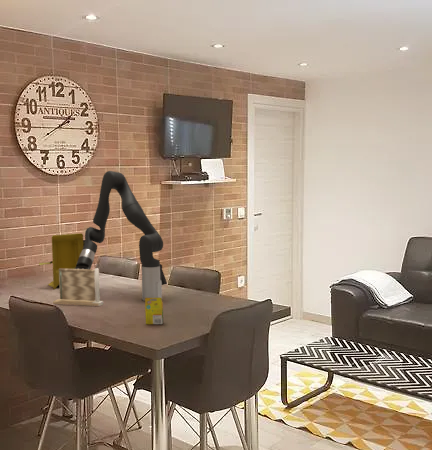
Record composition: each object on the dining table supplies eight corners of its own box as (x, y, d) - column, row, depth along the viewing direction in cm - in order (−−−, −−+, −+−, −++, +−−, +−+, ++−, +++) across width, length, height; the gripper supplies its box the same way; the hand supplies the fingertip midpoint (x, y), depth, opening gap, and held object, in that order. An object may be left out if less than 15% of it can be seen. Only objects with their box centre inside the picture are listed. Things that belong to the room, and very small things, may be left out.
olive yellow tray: (88, 280, 354) (86, 230, 351) (97, 283, 343) (96, 232, 340) (36, 286, 336) (34, 234, 333) (44, 290, 325) (42, 236, 322)
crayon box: (163, 322, 257) (162, 296, 256) (162, 324, 254) (162, 297, 253) (146, 322, 257) (145, 296, 256) (145, 324, 254) (144, 297, 253)
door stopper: (153, 286, 335) (152, 265, 334) (148, 284, 340) (147, 263, 339) (167, 284, 340) (166, 263, 339) (162, 282, 345) (161, 262, 344)
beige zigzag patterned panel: (95, 300, 292) (94, 269, 290) (93, 301, 290) (93, 269, 289) (61, 298, 296) (60, 268, 295) (59, 299, 295) (58, 268, 293)
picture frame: (103, 303, 293) (102, 267, 291) (99, 306, 288) (98, 269, 286) (58, 301, 299) (56, 266, 297) (53, 303, 294) (51, 267, 292)
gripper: (71, 255, 307) (60, 283, 297) (95, 255, 304) (85, 284, 294) (76, 263, 313) (66, 291, 302) (99, 264, 310) (90, 292, 299)
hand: (75, 287), depth 298 cm, fingers closed
